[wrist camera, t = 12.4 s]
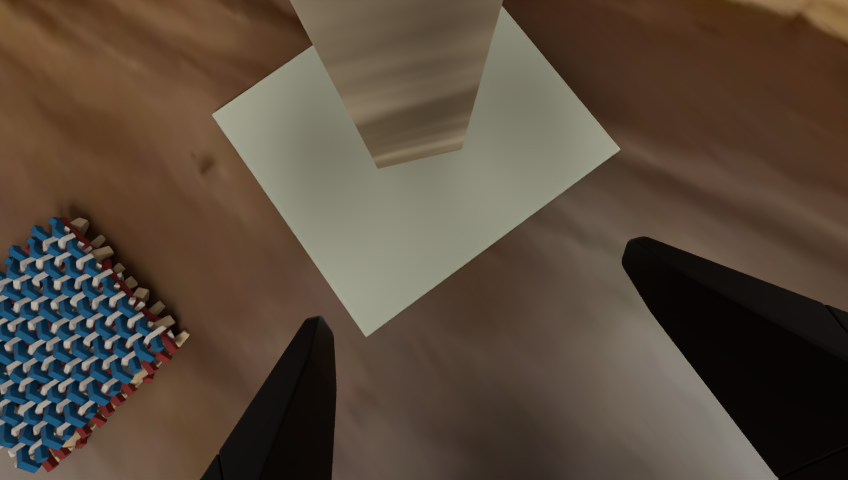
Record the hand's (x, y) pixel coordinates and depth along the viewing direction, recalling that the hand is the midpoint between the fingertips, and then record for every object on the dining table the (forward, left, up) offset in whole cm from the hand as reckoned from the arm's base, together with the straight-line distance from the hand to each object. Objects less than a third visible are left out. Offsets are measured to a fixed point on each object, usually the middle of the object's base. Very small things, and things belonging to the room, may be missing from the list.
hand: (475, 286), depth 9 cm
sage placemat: (+3, +8, -9) cm, 12 cm away
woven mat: (-20, +10, -9) cm, 24 cm away
